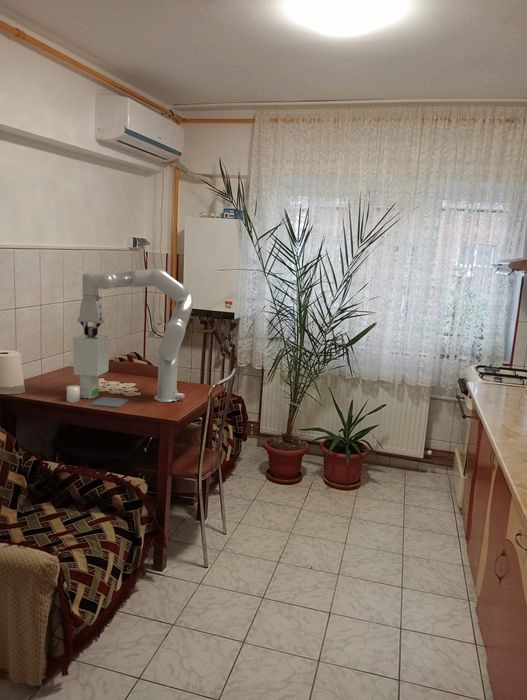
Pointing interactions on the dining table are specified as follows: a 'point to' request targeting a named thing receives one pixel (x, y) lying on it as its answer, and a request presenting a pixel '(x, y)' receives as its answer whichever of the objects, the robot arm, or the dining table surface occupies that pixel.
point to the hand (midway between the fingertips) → (90, 335)
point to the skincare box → (89, 386)
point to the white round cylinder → (73, 393)
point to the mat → (109, 402)
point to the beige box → (91, 354)
